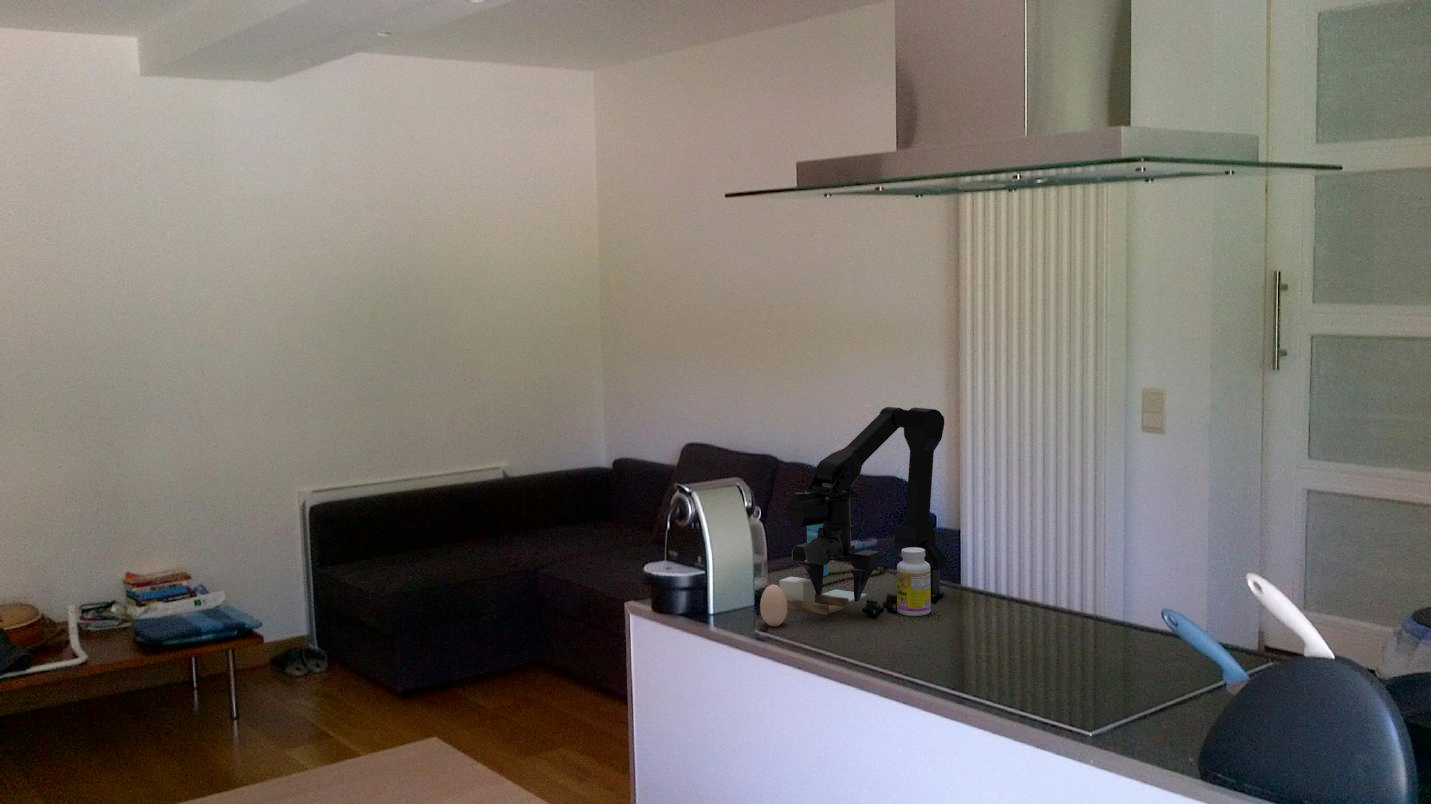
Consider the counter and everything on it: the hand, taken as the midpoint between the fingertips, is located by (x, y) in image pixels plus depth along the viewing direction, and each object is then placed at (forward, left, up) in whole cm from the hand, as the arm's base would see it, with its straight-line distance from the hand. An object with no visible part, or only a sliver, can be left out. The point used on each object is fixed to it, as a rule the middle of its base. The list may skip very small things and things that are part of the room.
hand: (837, 598), depth 255 cm
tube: (+23, -26, -3) cm, 35 cm away
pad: (+6, -10, -3) cm, 12 cm away
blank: (+10, 0, -2) cm, 10 cm away
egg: (+4, +16, -3) cm, 17 cm away
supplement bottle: (-13, -8, -3) cm, 16 cm away
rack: (+7, 0, -3) cm, 8 cm away
